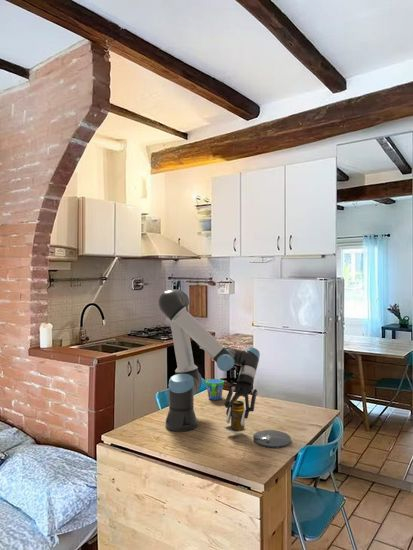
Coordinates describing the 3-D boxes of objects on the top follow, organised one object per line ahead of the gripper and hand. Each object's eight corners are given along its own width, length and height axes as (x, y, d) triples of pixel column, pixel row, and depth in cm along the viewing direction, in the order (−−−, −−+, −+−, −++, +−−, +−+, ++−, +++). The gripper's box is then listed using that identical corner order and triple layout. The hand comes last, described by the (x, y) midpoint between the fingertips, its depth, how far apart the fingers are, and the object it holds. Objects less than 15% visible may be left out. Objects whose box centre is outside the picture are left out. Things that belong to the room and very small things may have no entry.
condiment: (248, 429, 188) (248, 403, 188) (233, 433, 184) (233, 406, 184) (238, 424, 195) (238, 398, 194) (223, 428, 190) (223, 401, 190)
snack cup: (209, 394, 252) (208, 377, 252) (226, 395, 250) (226, 378, 250) (202, 402, 237) (202, 383, 237) (221, 403, 235) (221, 385, 235)
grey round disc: (248, 444, 179) (248, 434, 179) (258, 431, 193) (258, 421, 193) (286, 450, 172) (286, 439, 172) (293, 436, 187) (293, 426, 187)
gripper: (267, 384, 199) (257, 430, 184) (229, 379, 207) (216, 424, 192) (264, 375, 194) (254, 422, 179) (225, 371, 202) (212, 416, 187)
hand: (234, 423), depth 186 cm, fingers closed on condiment, 6 cm apart
